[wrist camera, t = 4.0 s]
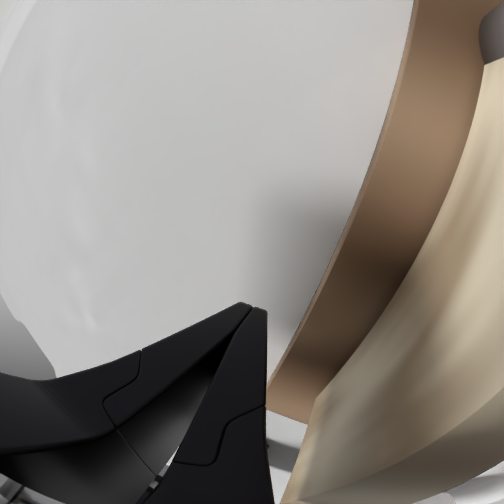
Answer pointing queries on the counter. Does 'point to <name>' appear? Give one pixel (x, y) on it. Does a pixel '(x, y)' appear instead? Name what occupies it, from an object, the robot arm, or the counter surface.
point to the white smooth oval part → (438, 499)
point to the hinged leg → (427, 346)
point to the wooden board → (390, 199)
